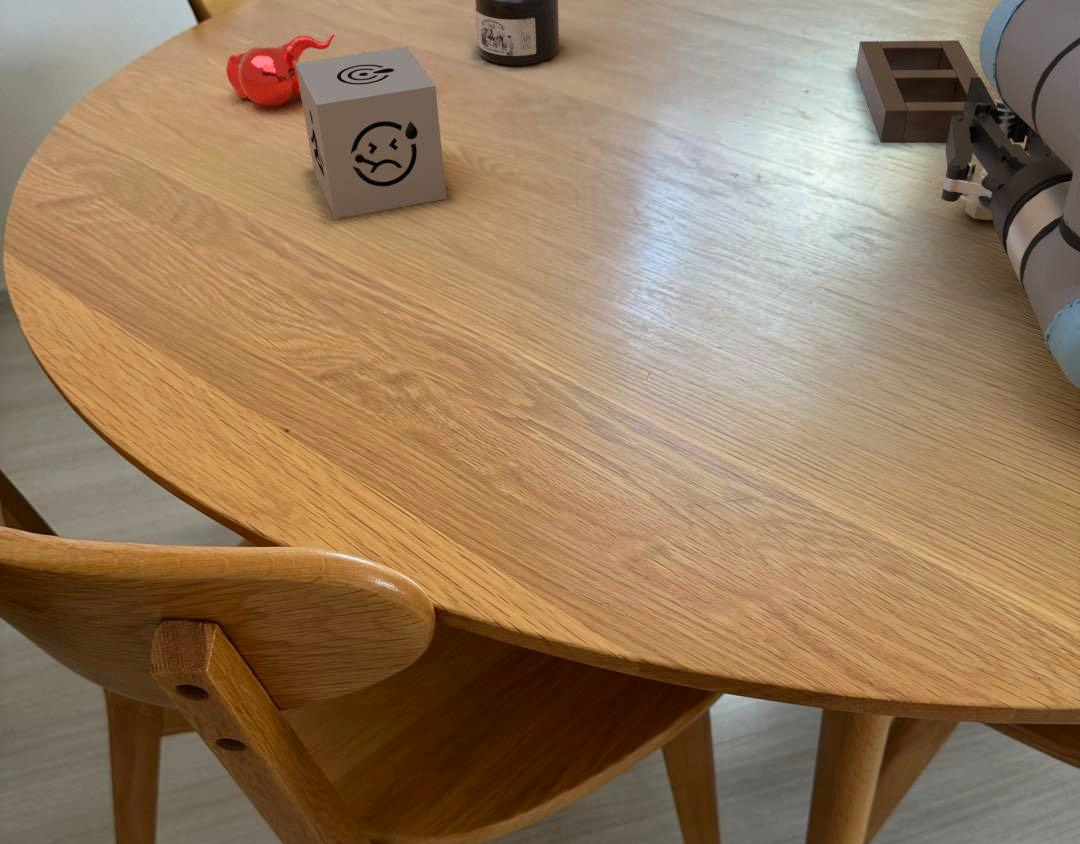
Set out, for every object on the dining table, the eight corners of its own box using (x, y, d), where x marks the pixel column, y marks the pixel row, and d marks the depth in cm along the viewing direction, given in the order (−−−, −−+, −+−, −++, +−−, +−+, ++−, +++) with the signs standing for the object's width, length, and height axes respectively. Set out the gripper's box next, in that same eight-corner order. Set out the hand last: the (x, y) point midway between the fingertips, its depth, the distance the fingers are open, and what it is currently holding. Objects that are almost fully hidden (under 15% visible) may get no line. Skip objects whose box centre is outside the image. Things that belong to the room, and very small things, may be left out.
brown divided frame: (952, 69, 121) (959, 40, 119) (990, 142, 107) (997, 110, 105) (855, 70, 121) (859, 41, 119) (880, 142, 108) (885, 110, 106)
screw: (1022, 210, 96) (995, 232, 94) (968, 194, 99) (940, 215, 96) (1064, 51, 88) (1035, 70, 85) (1003, 38, 90) (974, 56, 88)
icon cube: (418, 154, 110) (406, 46, 103) (446, 198, 103) (435, 85, 96) (314, 172, 108) (295, 63, 101) (335, 219, 100) (316, 105, 94)
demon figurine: (217, 41, 119) (332, 19, 120) (235, 100, 123) (346, 79, 124) (215, 64, 113) (336, 41, 114) (234, 126, 117) (351, 103, 118)
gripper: (938, 279, 81) (888, 138, 98) (1160, 279, 80) (1069, 137, 97) (960, 177, 76) (903, 48, 93) (1197, 176, 75) (1094, 45, 92)
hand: (988, 94), depth 95 cm, fingers closed on screw, 2 cm apart
